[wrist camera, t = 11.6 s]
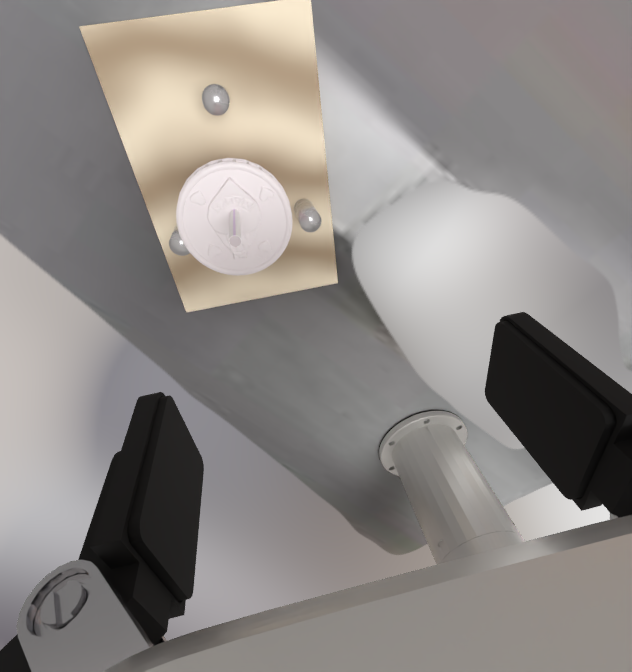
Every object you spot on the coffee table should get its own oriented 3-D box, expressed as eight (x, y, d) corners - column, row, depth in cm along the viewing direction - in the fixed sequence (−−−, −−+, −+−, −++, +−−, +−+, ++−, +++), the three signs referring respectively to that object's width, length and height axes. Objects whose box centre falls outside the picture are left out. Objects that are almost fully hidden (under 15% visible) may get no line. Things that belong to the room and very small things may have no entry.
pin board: (334, 276, 36) (347, 300, 32) (188, 304, 35) (182, 333, 31) (306, 0, 25) (321, -16, 20) (87, 29, 23) (56, 18, 19)
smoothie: (273, 135, 27) (303, 174, 16) (280, 223, 31) (308, 306, 19) (182, 139, 26) (143, 183, 15) (200, 229, 30) (180, 320, 18)
